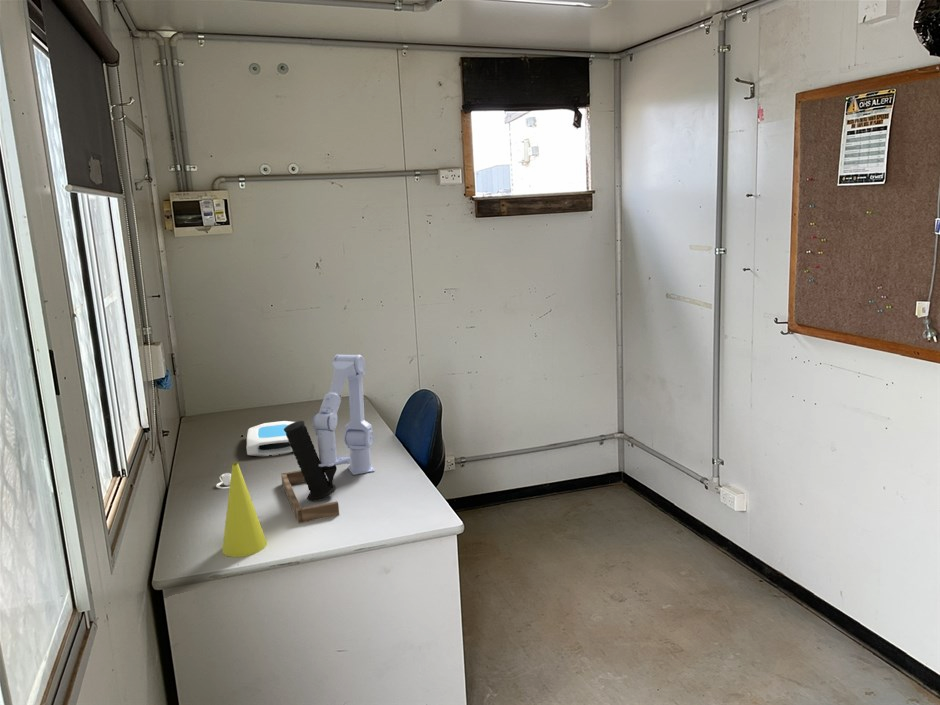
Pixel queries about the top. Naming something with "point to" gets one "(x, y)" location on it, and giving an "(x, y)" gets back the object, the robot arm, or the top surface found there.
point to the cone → (241, 520)
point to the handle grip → (308, 461)
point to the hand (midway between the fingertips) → (330, 487)
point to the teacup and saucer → (225, 480)
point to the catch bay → (306, 512)
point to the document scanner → (267, 438)
